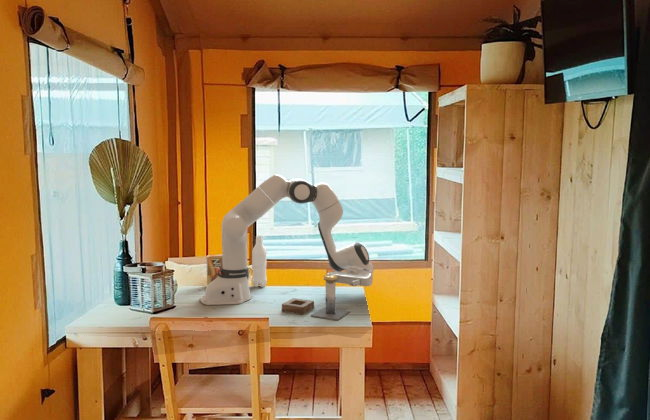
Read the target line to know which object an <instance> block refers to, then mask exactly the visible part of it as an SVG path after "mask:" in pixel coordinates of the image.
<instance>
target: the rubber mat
mask: <svg viewBox="0 0 650 420" xmlns="http://www.w3.org/2000/svg"><path fill="white" fill-rule="evenodd" d="M350 312H351V311H350V310H346V309H339V308H335V314H326V306H324V307H321V308H320V309H318V310H316V311H315V312H313V313H311V314H310V317H312V318H318V319H319V318H320V319H324V320H330V321H337V322H338V321H340V320H341V319H342V318H344V317H345V316H347V315H348V314H349V313H350Z"/></svg>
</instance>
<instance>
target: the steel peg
mask: <svg viewBox="0 0 650 420" xmlns="http://www.w3.org/2000/svg"><path fill="white" fill-rule="evenodd" d="M323 280H324V281H325V307H326V314H335V309H336V283H335V281H336V280H337V276H336V275H327V274H326V275H323Z"/></svg>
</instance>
